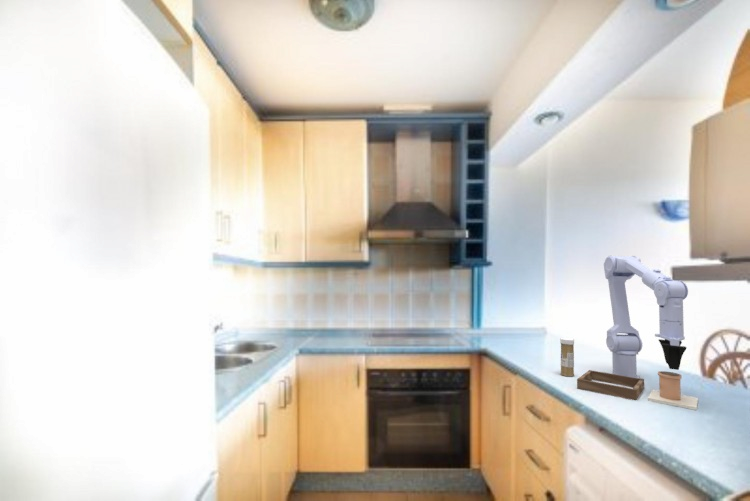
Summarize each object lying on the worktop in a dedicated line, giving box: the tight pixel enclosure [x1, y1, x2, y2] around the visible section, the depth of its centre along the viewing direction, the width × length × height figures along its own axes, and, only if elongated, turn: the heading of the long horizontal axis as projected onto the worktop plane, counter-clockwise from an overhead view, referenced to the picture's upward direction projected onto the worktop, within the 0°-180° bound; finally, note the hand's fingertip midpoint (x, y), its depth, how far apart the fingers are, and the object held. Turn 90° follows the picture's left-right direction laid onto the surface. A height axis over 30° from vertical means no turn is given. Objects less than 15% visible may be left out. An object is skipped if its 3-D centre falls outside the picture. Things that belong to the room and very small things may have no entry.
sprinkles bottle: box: [559, 337, 575, 377], centre depth 139 cm, size 5×5×13 cm
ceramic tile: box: [647, 389, 699, 411], centre depth 112 cm, size 11×11×1 cm
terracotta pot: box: [657, 370, 683, 400], centre depth 113 cm, size 6×6×7 cm
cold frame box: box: [576, 369, 645, 401], centre depth 123 cm, size 16×16×3 cm
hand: (672, 366), depth 113 cm, fingers open, 7 cm apart
